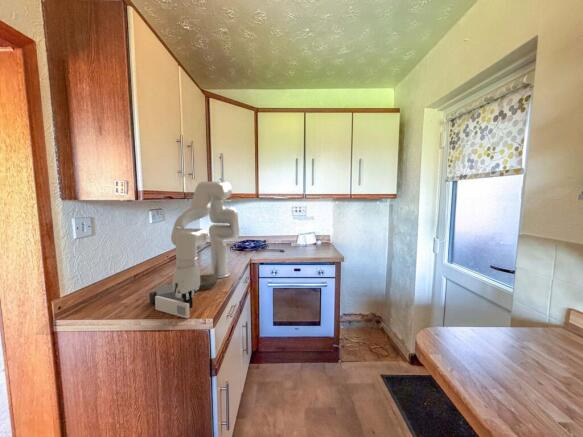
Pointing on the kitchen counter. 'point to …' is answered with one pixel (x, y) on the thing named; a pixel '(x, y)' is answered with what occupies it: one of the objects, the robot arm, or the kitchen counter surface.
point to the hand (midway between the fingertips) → (188, 307)
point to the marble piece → (207, 281)
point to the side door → (172, 306)
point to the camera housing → (164, 293)
